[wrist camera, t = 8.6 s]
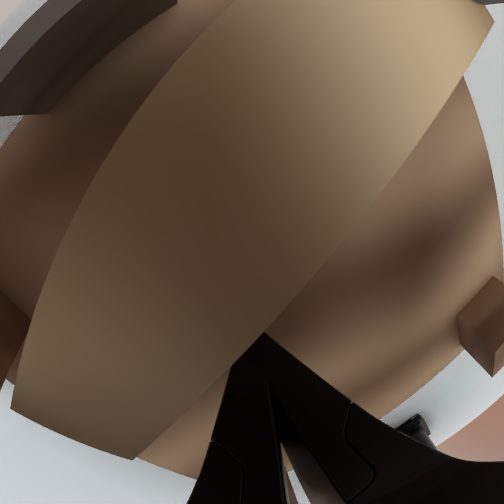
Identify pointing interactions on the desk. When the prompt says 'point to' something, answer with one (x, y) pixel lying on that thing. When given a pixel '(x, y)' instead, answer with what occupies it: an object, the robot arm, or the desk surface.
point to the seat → (324, 280)
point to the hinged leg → (230, 202)
